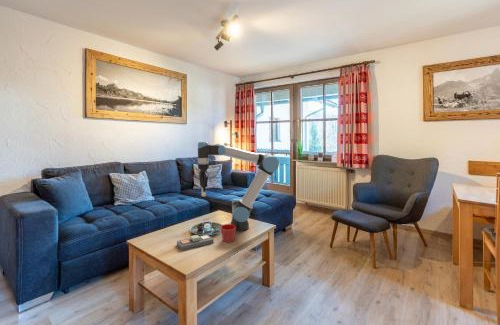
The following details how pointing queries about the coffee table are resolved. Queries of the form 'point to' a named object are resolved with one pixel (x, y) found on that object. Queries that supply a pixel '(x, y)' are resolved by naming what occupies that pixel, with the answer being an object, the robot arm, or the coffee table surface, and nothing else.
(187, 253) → the coffee table surface
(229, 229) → the flower pot
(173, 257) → the coffee table surface
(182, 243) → the key terracotta
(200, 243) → the grey rectangular tray
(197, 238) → the key sage
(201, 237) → the key ivory
